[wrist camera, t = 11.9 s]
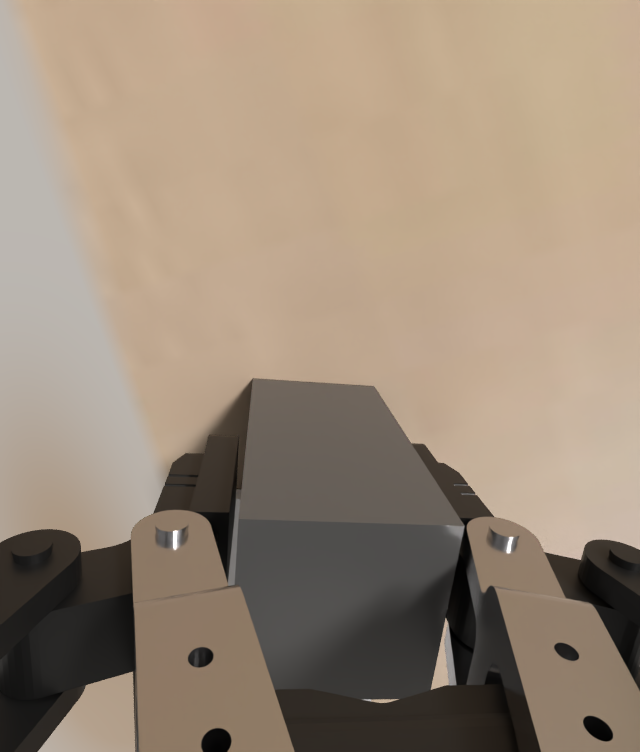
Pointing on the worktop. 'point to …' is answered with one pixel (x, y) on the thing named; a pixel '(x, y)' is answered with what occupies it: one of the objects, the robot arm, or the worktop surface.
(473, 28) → the worktop surface
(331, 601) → the grey piece
